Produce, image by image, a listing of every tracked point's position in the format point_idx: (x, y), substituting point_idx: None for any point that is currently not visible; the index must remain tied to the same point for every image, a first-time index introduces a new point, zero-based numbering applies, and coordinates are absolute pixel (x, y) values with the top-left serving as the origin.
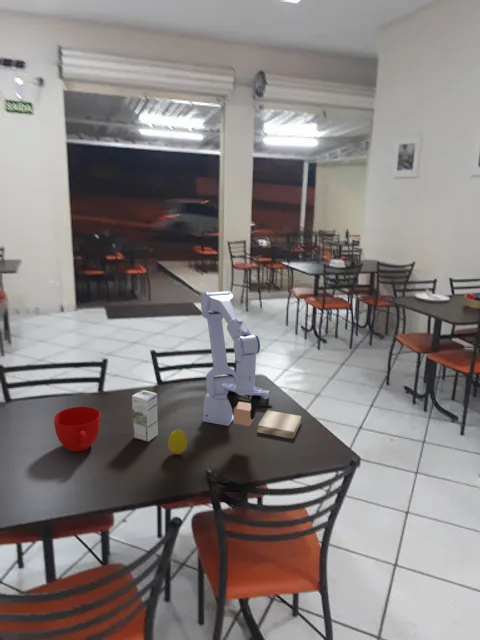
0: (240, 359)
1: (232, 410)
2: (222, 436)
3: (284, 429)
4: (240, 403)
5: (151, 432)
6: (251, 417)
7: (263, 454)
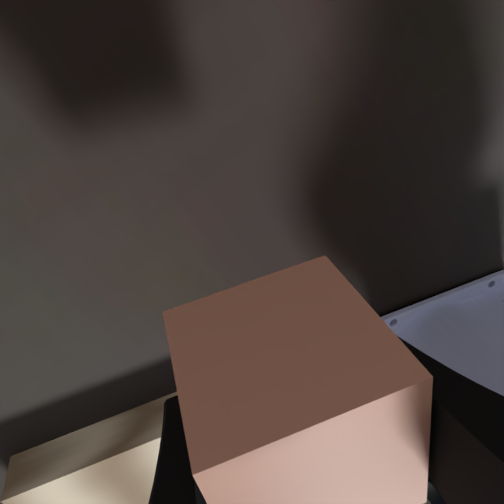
0: None
1: (422, 353)
2: (358, 223)
3: (68, 479)
4: (399, 491)
5: None
6: (178, 408)
7: (10, 221)
